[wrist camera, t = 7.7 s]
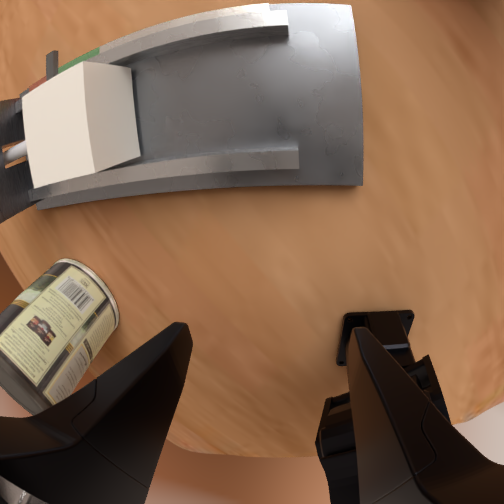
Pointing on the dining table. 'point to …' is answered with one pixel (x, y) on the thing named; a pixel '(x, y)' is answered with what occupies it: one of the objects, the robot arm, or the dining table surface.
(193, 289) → the dining table surface
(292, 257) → the dining table surface
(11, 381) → the coffee can
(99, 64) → the white cube with rod
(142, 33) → the gauge track
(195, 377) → the dining table surface
